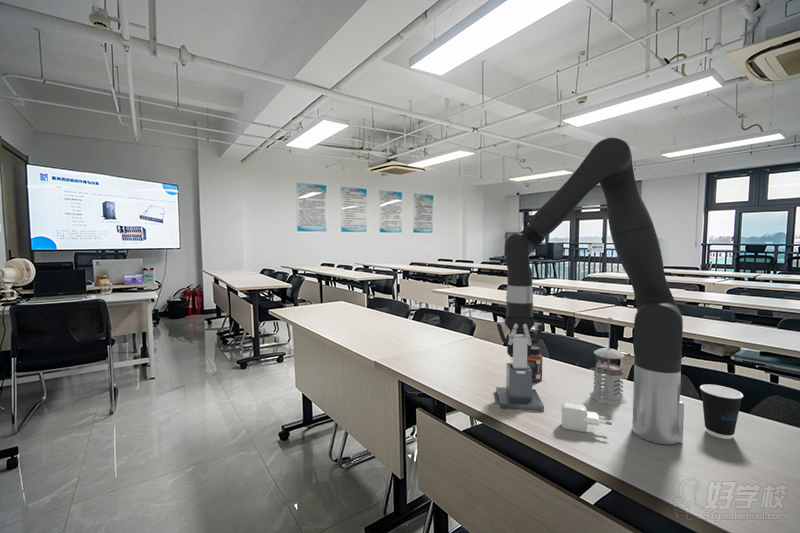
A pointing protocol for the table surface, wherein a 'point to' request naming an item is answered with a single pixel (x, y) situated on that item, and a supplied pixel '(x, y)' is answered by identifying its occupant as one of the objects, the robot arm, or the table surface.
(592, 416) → the power adapter
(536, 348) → the supplement bottle
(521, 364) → the column
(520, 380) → the stand housing
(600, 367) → the french press
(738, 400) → the dixie cup
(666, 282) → the robot arm
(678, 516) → the table surface
